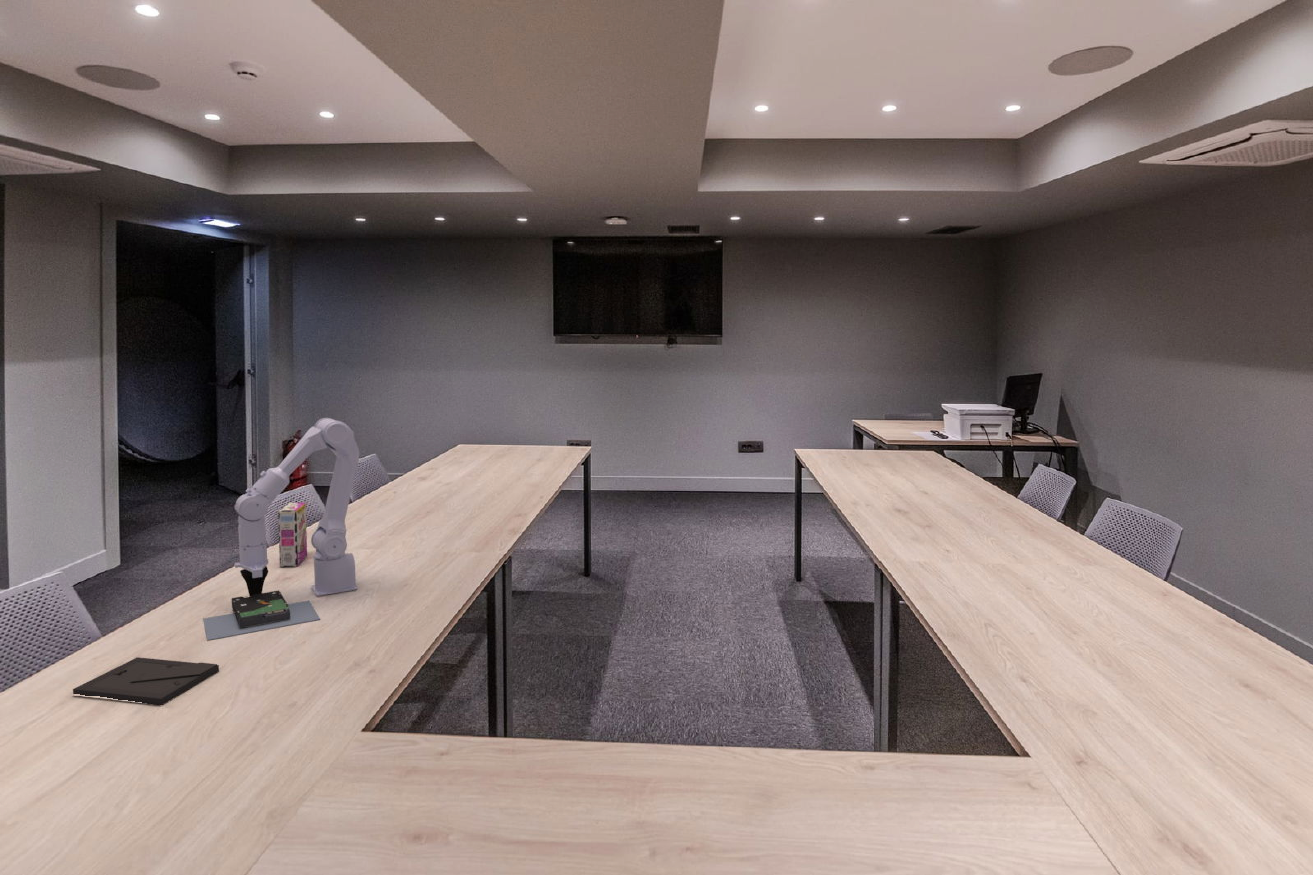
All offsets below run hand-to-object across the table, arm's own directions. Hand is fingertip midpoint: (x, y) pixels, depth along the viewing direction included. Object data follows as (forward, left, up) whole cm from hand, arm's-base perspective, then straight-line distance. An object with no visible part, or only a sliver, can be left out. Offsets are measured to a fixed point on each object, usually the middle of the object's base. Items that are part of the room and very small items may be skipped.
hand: (255, 598), depth 171 cm
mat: (0, +12, -1) cm, 12 cm away
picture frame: (+21, +35, -2) cm, 40 cm away
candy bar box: (-13, -31, -2) cm, 34 cm away
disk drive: (0, +8, -1) cm, 9 cm away
